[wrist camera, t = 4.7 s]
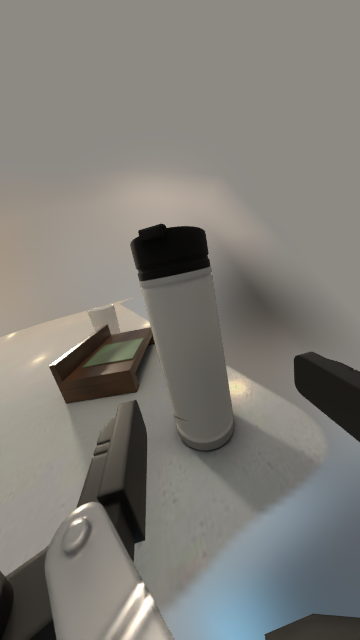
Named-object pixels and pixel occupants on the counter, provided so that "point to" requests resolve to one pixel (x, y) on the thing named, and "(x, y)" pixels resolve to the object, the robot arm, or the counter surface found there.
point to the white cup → (104, 318)
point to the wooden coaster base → (101, 365)
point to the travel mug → (186, 330)
